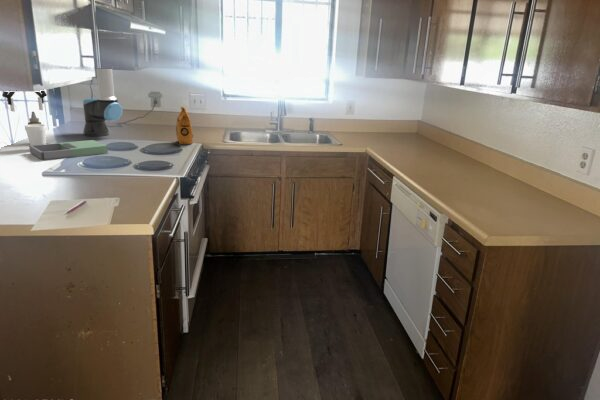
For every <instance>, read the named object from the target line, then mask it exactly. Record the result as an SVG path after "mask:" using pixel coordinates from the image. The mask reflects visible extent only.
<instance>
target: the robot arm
mask: <svg viewBox="0 0 600 400" xmlns="http://www.w3.org/2000/svg"><path fill="white" fill-rule="evenodd" d="M96 74H97V83H98V84H97V85H98V93H99V95H98V97H97V98H85V99H83V103H82V107H83V112H84V113H83V115H84V127H83V130H82V133H83V136H87V137H104V136H109V135H110V131H109V128H108V126H107V123H106V121H107V122H115V121H119V120H120V118H121V117H122V115H123V107H122V105H121V104H120V103H119V102H118V98H117V96H116V95H115V85H114V76H113V68H112V69H97V68H96ZM15 93H16V92H10V91H9V92H4V91H3V92H2V95H1V96H2V97H4V98H6V100H7V101H6V102H7V104H8V106H9V107H10V111H11V112H15V105H14V98H13V96H14V95H15ZM34 93H35V94H36V95H37V100H38V101H37V102H38V109H39V111H44V108H43V107H44V106H43V105H44V98H45V97H47V96H48V95H47V93H46V91H45V90H44V91H41V92H40V91H39V92H34Z"/></svg>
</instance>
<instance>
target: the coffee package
mask: <svg viewBox="0 0 600 400" xmlns="http://www.w3.org/2000/svg"><path fill="white" fill-rule="evenodd" d="M180 109H181V111H180V112H179V114H178V115H177V118H176V127H175V133H176V139H177V142H178V143H179V144H180V145H191V144H193V141H194V135H193V126H192V123H191V119H190V115H189V114H188V111H187V110H186V107H185V106H181V107H180Z"/></svg>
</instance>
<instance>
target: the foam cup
mask: <svg viewBox="0 0 600 400" xmlns="http://www.w3.org/2000/svg"><path fill="white" fill-rule="evenodd" d="M24 129H25V132H26V135H27V140H28V142H29V146H32V145H43V144H46V141H47V140H46V139H47V137H46V136H47V135H46V134H47V133H46V130H47V126H46V124H45V123H44V124H43V123H41V124H29V125H28V124H25V125H24Z"/></svg>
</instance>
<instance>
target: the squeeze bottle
mask: <svg viewBox="0 0 600 400" xmlns="http://www.w3.org/2000/svg"><path fill="white" fill-rule="evenodd" d="M30 116H31V117H30V118H28V121H29V122H28V123H27V125H29V124H42V122H41V121H40V119H39V118H38V117H37V116H36V113H35V111H31V115H30Z"/></svg>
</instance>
